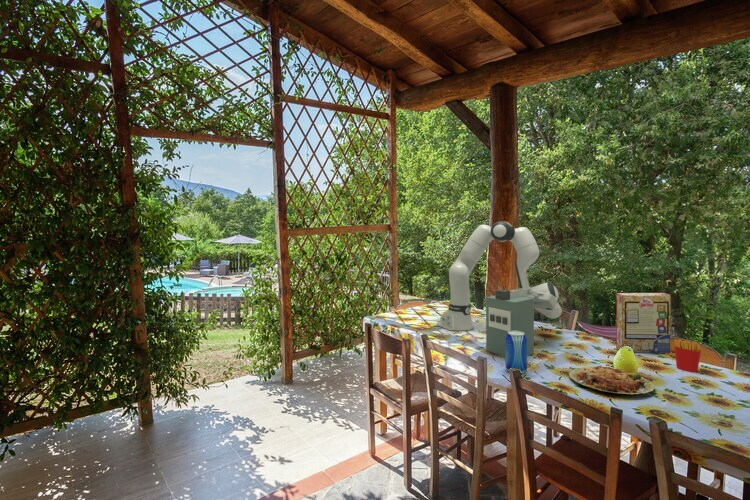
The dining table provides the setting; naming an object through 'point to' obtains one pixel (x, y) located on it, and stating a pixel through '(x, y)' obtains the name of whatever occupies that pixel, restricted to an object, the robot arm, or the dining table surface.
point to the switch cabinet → (508, 322)
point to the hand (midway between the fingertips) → (525, 290)
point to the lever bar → (511, 293)
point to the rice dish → (611, 380)
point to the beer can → (516, 351)
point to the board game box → (643, 322)
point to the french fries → (687, 355)
